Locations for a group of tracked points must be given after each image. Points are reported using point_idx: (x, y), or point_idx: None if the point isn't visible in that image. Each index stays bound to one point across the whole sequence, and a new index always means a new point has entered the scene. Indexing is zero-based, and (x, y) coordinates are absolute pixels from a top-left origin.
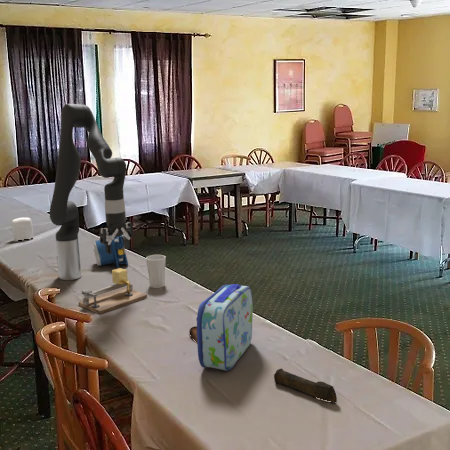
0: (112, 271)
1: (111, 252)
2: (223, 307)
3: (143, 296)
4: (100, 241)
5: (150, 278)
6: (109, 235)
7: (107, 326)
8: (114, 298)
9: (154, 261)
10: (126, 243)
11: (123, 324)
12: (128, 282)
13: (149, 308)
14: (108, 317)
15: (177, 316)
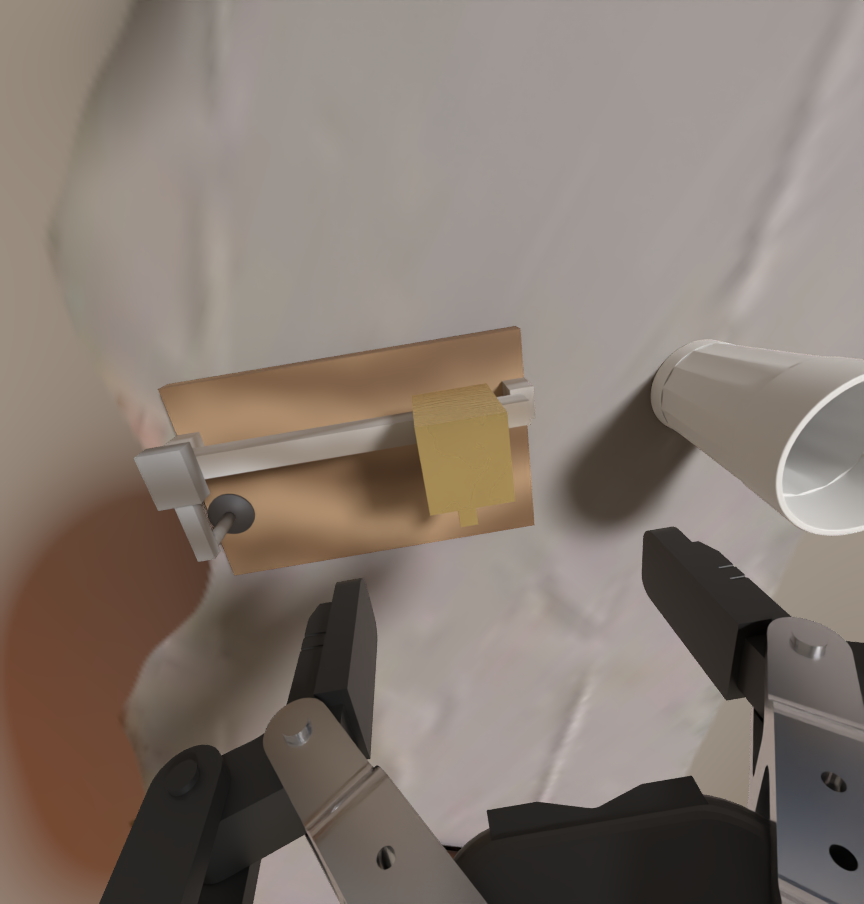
0: (415, 432)
1: (376, 646)
2: None
3: (508, 527)
4: (148, 814)
5: (682, 408)
6: (414, 864)
7: (223, 681)
8: (369, 469)
9: (781, 514)
10: (691, 628)
11: (287, 696)
12: (466, 525)
13: (455, 627)
14: (260, 613)
15: (488, 733)
